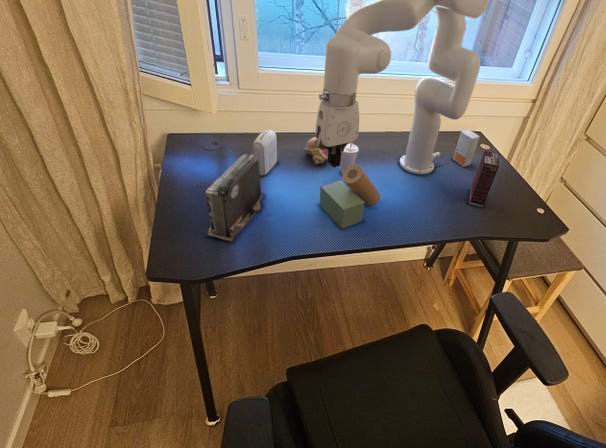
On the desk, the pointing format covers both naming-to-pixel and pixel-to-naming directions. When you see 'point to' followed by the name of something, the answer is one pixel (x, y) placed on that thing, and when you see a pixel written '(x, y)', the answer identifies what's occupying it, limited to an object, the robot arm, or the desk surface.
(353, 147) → the smoothie
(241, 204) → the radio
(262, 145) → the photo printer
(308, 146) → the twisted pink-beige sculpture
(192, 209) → the desk surface
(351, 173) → the paper roll
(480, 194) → the supplement box
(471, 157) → the cosmetic box
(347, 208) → the green block
